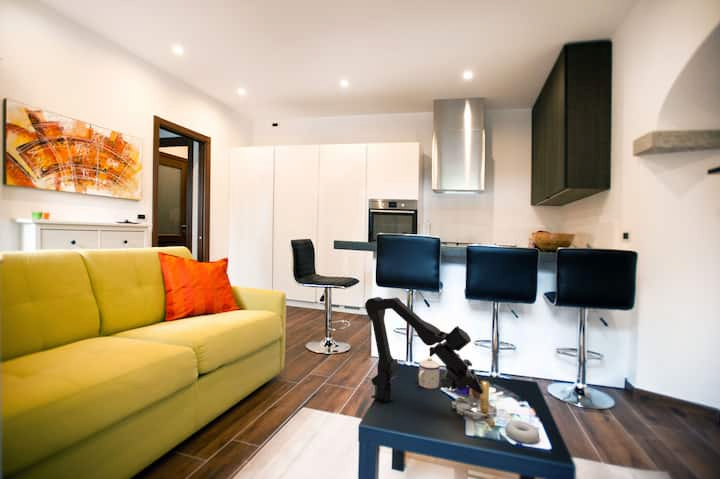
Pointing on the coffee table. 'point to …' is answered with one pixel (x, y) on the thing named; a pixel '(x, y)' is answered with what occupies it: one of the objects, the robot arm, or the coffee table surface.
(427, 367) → the teacup with lid
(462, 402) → the sprocket wheel
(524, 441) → the donut
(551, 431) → the coffee table surface
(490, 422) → the timing mark
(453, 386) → the figurine character
